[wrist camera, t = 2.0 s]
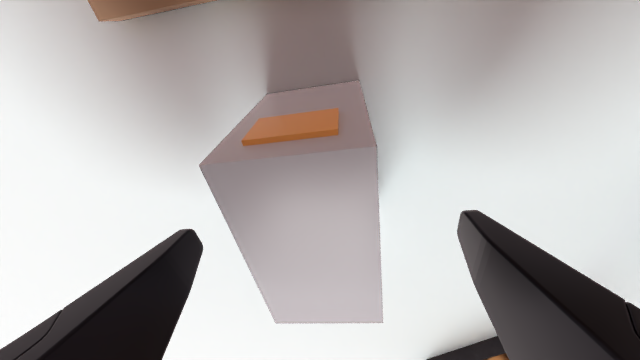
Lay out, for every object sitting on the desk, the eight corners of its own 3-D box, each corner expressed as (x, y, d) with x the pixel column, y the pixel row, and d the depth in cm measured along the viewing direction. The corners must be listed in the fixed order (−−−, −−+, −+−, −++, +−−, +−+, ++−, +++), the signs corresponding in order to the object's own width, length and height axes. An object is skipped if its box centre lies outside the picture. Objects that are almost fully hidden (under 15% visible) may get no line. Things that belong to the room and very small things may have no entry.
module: (358, 76, 10) (376, 139, 5) (367, 209, 14) (383, 322, 9) (266, 90, 11) (195, 159, 6) (299, 214, 15) (275, 323, 9)
